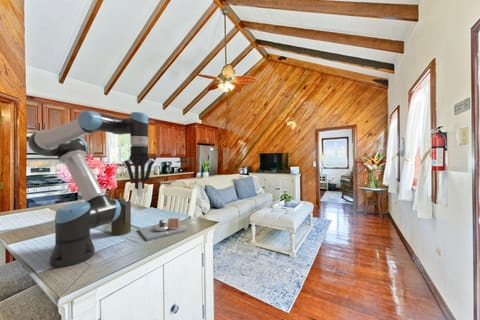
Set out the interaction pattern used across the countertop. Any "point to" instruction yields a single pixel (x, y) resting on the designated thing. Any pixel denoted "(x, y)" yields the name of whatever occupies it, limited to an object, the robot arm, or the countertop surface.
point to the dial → (166, 225)
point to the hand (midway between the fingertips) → (139, 195)
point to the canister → (122, 219)
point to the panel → (151, 235)
